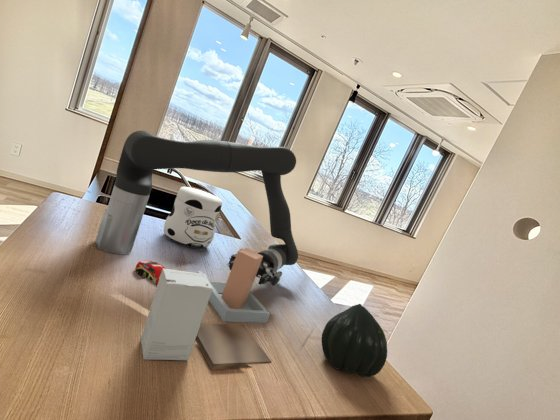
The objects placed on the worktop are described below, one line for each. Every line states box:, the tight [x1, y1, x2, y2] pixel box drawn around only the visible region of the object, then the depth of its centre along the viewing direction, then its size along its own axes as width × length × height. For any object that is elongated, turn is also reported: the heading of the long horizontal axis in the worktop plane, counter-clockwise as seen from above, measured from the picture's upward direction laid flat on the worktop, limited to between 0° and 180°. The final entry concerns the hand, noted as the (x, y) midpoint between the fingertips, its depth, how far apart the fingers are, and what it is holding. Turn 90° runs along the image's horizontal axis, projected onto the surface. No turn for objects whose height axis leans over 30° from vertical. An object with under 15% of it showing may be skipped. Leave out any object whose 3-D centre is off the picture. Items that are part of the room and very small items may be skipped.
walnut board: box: [195, 322, 272, 371], centre depth 74 cm, size 13×13×1 cm
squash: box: [321, 303, 388, 378], centre depth 85 cm, size 14×15×15 cm
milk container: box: [163, 186, 223, 249], centre depth 127 cm, size 17×17×18 cm
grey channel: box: [196, 270, 271, 324], centre depth 93 cm, size 12×20×4 cm, turn 33°
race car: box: [134, 259, 167, 286], centre depth 91 cm, size 13×5×4 cm, turn 54°
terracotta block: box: [221, 247, 263, 309], centre depth 91 cm, size 5×5×14 cm
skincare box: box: [140, 268, 213, 361], centre depth 64 cm, size 8×6×15 cm
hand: (245, 273), depth 93 cm, fingers open, 8 cm apart
